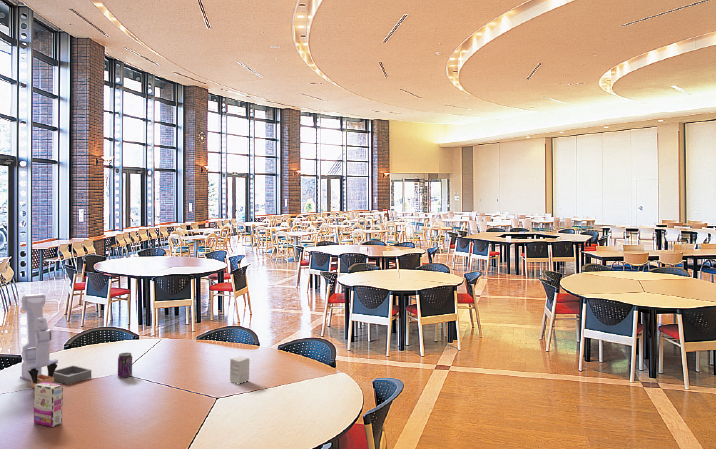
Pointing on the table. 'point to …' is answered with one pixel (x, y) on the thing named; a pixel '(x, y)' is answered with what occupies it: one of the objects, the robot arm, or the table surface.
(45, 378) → the box
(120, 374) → the beverage can
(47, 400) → the candy bar box
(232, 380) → the grey drawer cabinet
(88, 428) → the table surface
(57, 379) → the big crate
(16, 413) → the table surface
